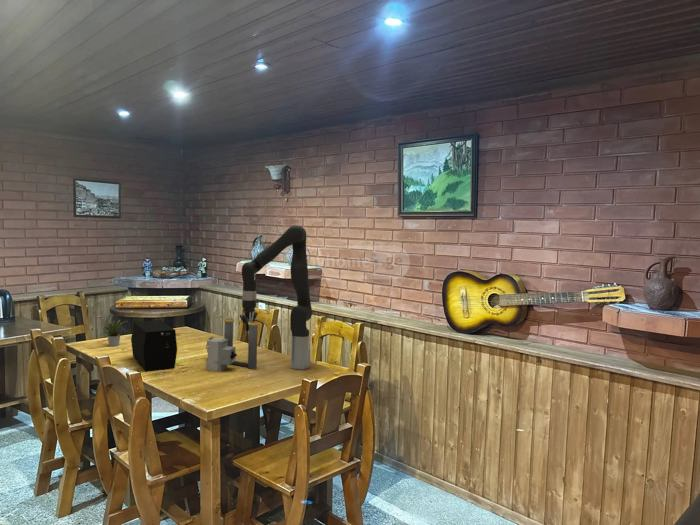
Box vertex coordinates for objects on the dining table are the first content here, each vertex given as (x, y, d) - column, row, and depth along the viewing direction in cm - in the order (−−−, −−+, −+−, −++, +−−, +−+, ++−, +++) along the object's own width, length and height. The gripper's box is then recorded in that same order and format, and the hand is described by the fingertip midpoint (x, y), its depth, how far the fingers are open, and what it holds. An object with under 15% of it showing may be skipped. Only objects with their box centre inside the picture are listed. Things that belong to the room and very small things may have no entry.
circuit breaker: (231, 372, 250) (232, 342, 250) (205, 369, 253) (206, 340, 253) (238, 368, 258) (238, 339, 257) (212, 366, 261) (213, 337, 260)
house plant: (127, 342, 309) (127, 316, 308) (130, 346, 297) (130, 319, 296) (101, 344, 302) (102, 317, 301) (103, 348, 290) (104, 321, 289)
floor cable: (249, 366, 262) (249, 362, 262) (247, 367, 260) (247, 363, 260) (232, 363, 267) (233, 360, 267) (230, 364, 265) (230, 360, 265)
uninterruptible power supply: (162, 354, 281) (162, 319, 280) (177, 369, 253) (178, 330, 252) (130, 357, 272) (131, 321, 271) (143, 373, 244) (144, 332, 243)
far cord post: (235, 363, 268) (236, 318, 267) (228, 365, 264) (229, 320, 262) (227, 361, 271) (228, 317, 269) (221, 363, 266) (222, 319, 265)
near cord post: (259, 367, 261) (260, 322, 260) (253, 369, 257) (254, 323, 255) (251, 366, 264) (252, 321, 262) (245, 368, 259) (246, 322, 258)
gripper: (247, 300, 260) (246, 333, 261) (262, 298, 272) (261, 329, 273) (235, 299, 264) (234, 331, 265) (251, 297, 275) (250, 328, 276)
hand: (248, 330), depth 269 cm, fingers closed
